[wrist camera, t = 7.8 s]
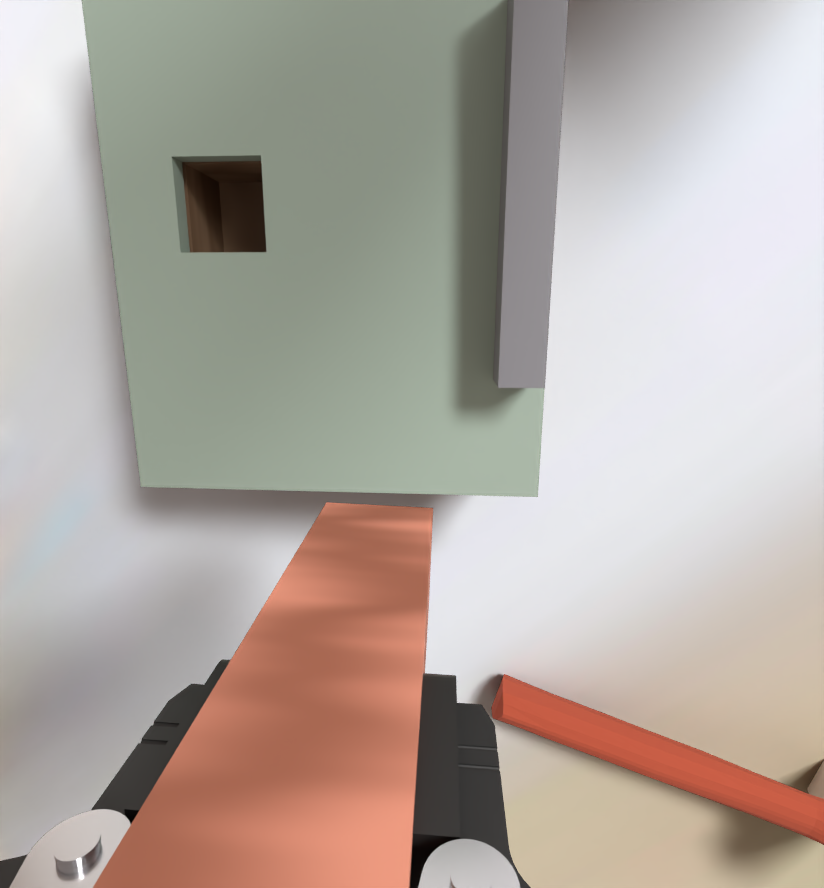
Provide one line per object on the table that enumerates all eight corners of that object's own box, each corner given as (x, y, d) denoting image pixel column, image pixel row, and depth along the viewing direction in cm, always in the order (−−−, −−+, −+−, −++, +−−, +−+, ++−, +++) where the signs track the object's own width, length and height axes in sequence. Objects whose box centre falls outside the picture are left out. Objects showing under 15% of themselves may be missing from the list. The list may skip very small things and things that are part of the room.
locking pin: (433, 507, 17) (406, 916, 6) (428, 604, 18) (397, 1130, 7) (326, 502, 18) (91, 888, 6) (326, 598, 18) (122, 1101, 7)
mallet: (484, 760, 37) (970, 961, 33) (500, 718, 36) (1002, 918, 32) (494, 667, 47) (866, 811, 43) (507, 632, 46) (888, 775, 42)
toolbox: (530, -32, 31) (561, -163, 22) (507, 448, 38) (524, 490, 29) (186, -20, 32) (90, -139, 24) (224, 442, 39) (159, 481, 30)
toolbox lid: (574, -165, 22) (600, -264, 18) (534, 490, 29) (547, 518, 25) (78, -140, 24) (5, -227, 20) (150, 481, 30) (107, 506, 27)
